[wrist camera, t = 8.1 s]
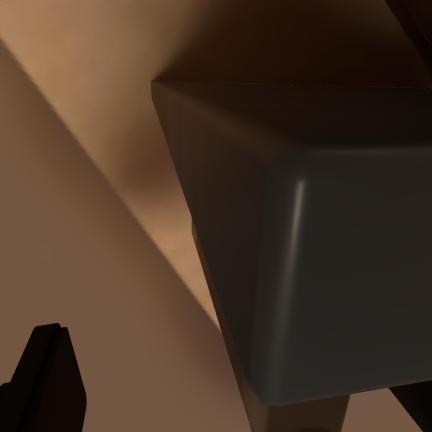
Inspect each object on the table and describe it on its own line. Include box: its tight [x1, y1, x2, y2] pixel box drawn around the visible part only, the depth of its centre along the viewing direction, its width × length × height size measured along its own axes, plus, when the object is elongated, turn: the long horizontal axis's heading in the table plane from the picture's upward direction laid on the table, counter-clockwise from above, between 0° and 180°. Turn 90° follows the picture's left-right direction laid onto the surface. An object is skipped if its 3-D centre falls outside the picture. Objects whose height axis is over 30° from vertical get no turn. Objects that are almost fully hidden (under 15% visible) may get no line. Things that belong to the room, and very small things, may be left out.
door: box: [151, 81, 432, 432], centre depth 10 cm, size 6×15×16 cm, turn 89°
